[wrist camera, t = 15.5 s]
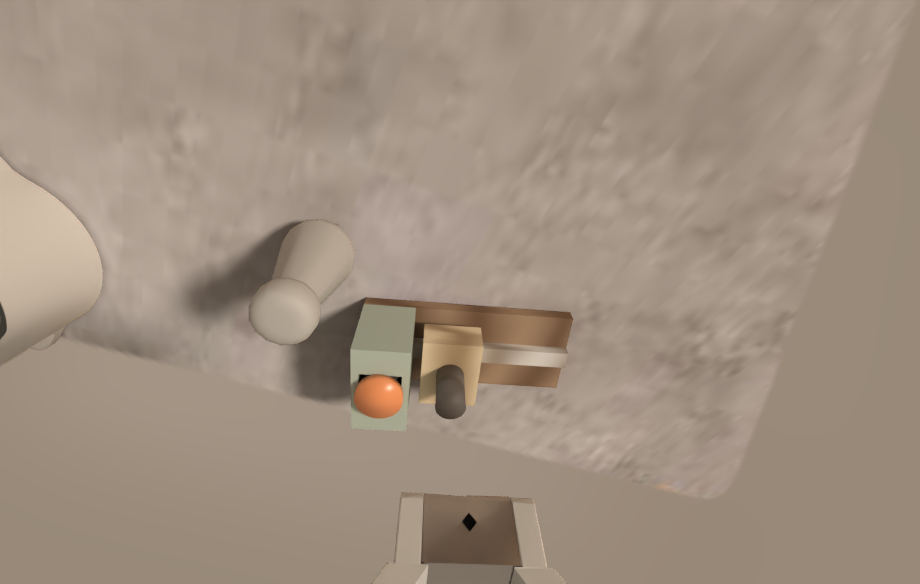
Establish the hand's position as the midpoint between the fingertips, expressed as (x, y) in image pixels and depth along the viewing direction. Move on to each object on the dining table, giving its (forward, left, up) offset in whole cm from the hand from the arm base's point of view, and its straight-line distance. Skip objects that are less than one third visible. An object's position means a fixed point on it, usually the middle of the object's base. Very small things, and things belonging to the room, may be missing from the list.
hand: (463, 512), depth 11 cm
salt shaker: (-10, -7, -31) cm, 34 cm away
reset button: (-4, -16, -27) cm, 32 cm away
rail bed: (+3, -16, -31) cm, 35 cm away
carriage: (+2, -16, -29) cm, 33 cm away
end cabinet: (-4, -16, -30) cm, 34 cm away
